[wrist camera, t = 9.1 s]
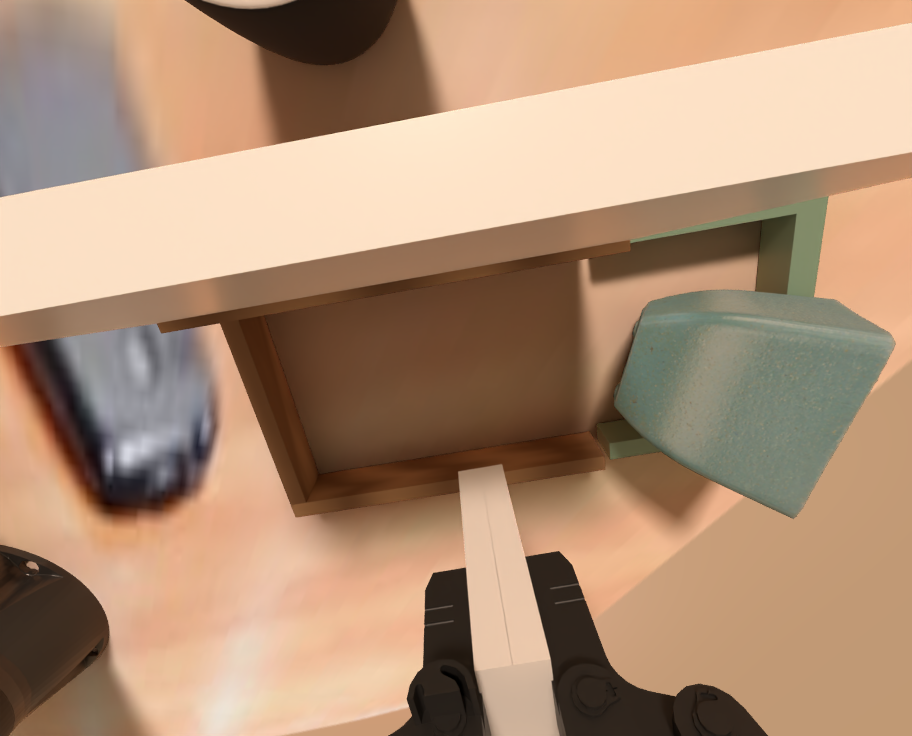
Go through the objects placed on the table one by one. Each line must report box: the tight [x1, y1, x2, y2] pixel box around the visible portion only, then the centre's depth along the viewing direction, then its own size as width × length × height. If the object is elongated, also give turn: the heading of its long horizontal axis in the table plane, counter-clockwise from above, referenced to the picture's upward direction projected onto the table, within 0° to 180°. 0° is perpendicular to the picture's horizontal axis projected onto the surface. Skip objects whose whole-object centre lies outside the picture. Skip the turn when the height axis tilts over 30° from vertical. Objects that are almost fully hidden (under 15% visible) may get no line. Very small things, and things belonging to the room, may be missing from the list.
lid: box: [0, 23, 912, 347], centre depth 10 cm, size 20×14×1 cm
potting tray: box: [596, 196, 828, 460], centre depth 25 cm, size 12×14×2 cm
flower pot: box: [613, 290, 895, 519], centre depth 23 cm, size 9×9×9 cm
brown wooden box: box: [157, 240, 630, 517], centre depth 24 cm, size 20×15×8 cm
